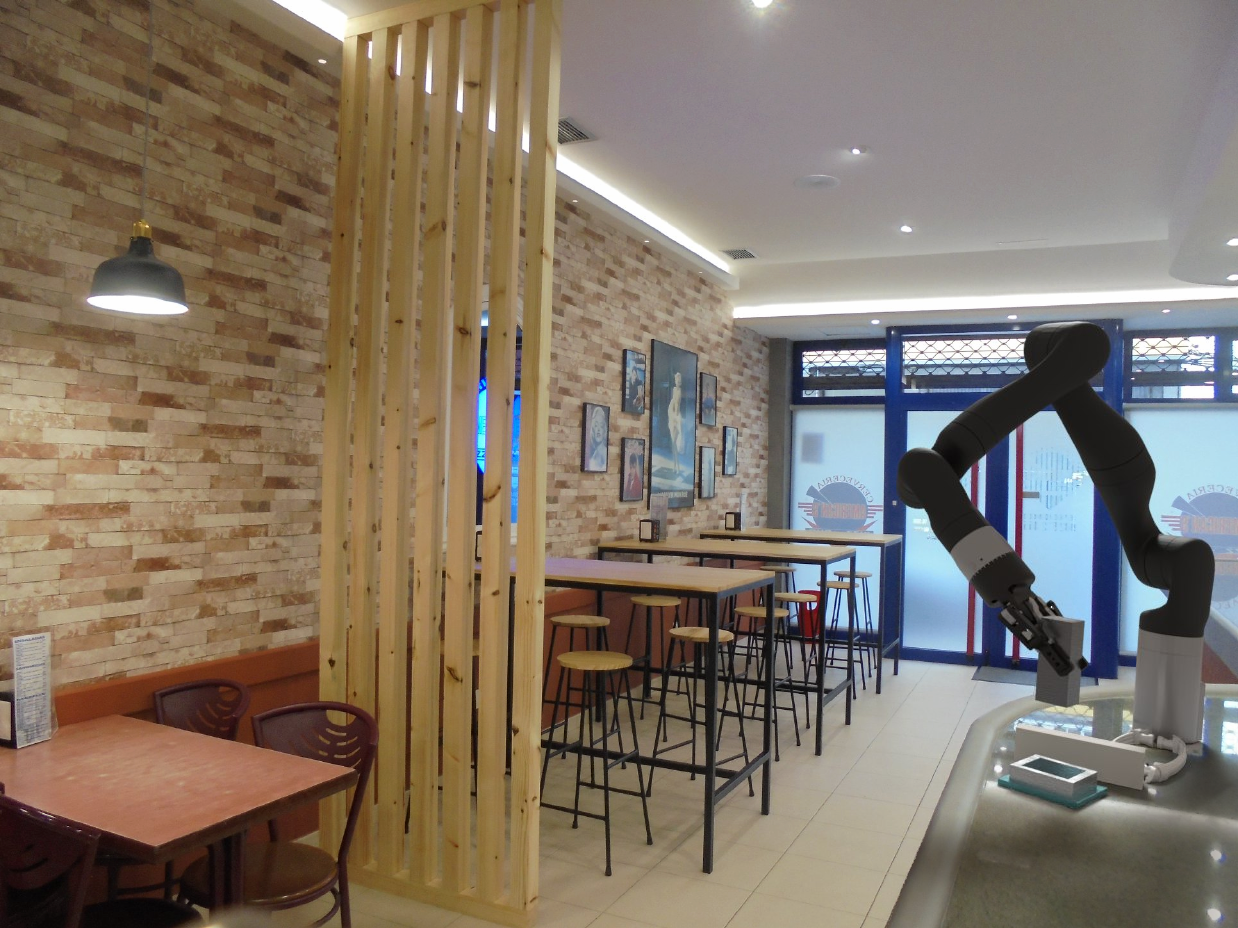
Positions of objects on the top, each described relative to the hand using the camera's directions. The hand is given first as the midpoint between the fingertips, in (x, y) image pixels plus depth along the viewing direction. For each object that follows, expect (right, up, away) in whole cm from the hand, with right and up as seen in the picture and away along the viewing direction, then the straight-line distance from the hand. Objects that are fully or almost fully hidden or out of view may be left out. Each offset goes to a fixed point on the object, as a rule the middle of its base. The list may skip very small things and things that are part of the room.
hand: (1075, 670), depth 116 cm
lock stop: (-2, -4, +1) cm, 5 cm away
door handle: (+20, -18, +18) cm, 32 cm away
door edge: (+5, -16, +9) cm, 19 cm away
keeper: (-2, -16, +1) cm, 16 cm away
